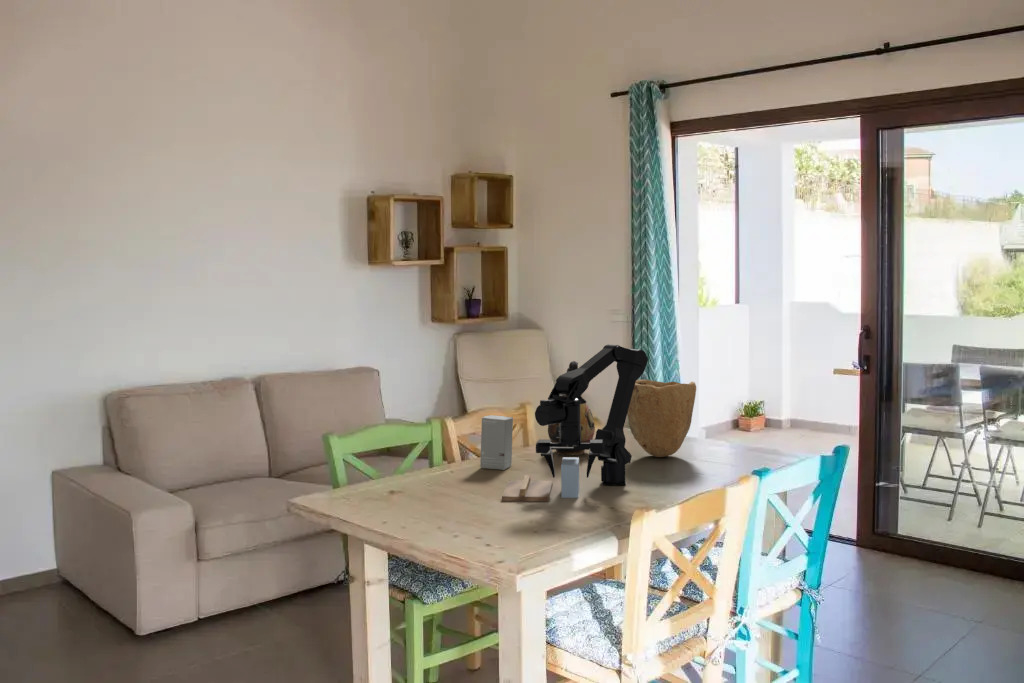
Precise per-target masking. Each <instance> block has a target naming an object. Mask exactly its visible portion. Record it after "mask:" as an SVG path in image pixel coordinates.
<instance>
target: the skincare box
mask: <svg viewBox="0 0 1024 683" xmlns="http://www.w3.org/2000/svg"><path fill="white" fill-rule="evenodd" d="M513 425H514V417H510V416H502V415H492V414H491V415H486V416H482V417H481V431H480V432H481V434H480V438H481V439H480V461H479V462H480V469H485V470H486V469H489V470H500V471H501V470H502V471H503V470H504V471H505V470H508V469H509V468H511V467H512V465H513V464H512V462H513V460H512V459H513V457H512V456H513V427H514V426H513Z"/></svg>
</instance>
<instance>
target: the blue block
mask: <svg viewBox="0 0 1024 683" xmlns="http://www.w3.org/2000/svg"><path fill="white" fill-rule="evenodd" d="M560 472H561V473H560V479H561V480H560V485H561V495H560V496H561V499H564V498H565V499H579V493H580V458H579V456H578V457H574V456H573V457H571V456H569V457H562V459H561V465H560Z"/></svg>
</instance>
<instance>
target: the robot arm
mask: <svg viewBox="0 0 1024 683" xmlns="http://www.w3.org/2000/svg"><path fill="white" fill-rule="evenodd" d="M648 361H649V357H648V356H647V353H646V351H644V350H643V349H635V348H626V347H624V346H621V345H619V344H609V343H608V344H606V345H604V346H603V348H602V349H601V350H599V351H598V352H597V353H596V354H594V355H593V356H592V357H591V358H590V359H588V360H587V361H585V362H584V363H583V364H582V365H580V366H578V369H576V370H572V371H569V372H567V371H566V372H564V373H563V374H561V375H559V376H558V377H557V378H556V380H555V383H554V386H553V387H552V390H551V392H550V394H549V396H548V397H547V399H541V400H539V405H537V407H536V409H535V412H534V417H535V421H536V422H537V424H538V425H539V426H541V427H544V426H545V427H546V426H548V425H552V424H557V423H560V426H556V438H560V443H552V442H551V439H550V438H549V439H541V438H539V439H538V440H537V441H536V442H535V453H536V454H540V457H544V459H545V461H546V462H547V464H548V467H549V470H550V472H551V475H552V478H555V476H556V472H555V471H556V470H555V462H554V455H553V454H554V453H553V450H555V451H556V450H585V451H588V450H589V451H588V453H589V454H588V459H587V466H586V467H587V468H586V478H589V477H590V473H591V469H592V466H593V464H594V462H595V460H596V458H597V460H598V461H599V462H602V465H601V466H600V479H601V481H600V482H602V485H603V486H626V485H627V480H626V465H628V464H631V461H632V456H633V455H632V454H631V453H630V451H628V450H627V448H626V447H625V446H626V436H625V432H624V427H625V423H626V421H627V420H626V419H627V417H628V415H627V413H628V409H629V405H630V401H631V397H632V394H633V390H634V386H635V382H636V381H637V380H639V378H641V376H642V375H644V372H645V370H646V367H647V365H648ZM614 362H615V363H616V371H617V375H618V378H617V384H616V388H615V390H614V394H613V397H612V398H613V399H612V402H611V406H610V408H609V413H608V417H607V419H606V420H607V421H606V424H605V425H604V427H603V428H602V429H601V428H597V430H595V431H596V432H595V437H594V439H592V440H590V443H581V421H580V404H585V403H587V401H586V400H585V398H584V397H583V396H582V397H583V398H584V399H583V398H582V397H581V395H583V394H584V393H585V392H586V391H587V389H588V387H589V384H590V382H591V381H592V380H593V379H594V378H596V377H597V376H598V375H599V374H601V373H602V372H603V371H605V370H606V369H607V368H608V367H609V366H611V365H612V364H613V363H614ZM565 396H568V397H565ZM563 445H567V446H563ZM574 446H578V447H574Z"/></svg>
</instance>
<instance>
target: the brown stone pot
mask: <svg viewBox="0 0 1024 683" xmlns="http://www.w3.org/2000/svg"><path fill="white" fill-rule="evenodd" d="M696 394H697V385H696V382H695V381H690V382H689V383H682V382H681V383H680V382H678V381H668V382H663V381H657V380H652V379H637V381H636V382H635V386H634V390H633V394H632V397H631V401H630V405H629V409H628V413H627V420H628V427H629V429H630V432H631V434H632V436H633V438H634V440H635V441H636V442H637V443H638V445H639V446H640V447H641V448H642V449H643V451H644V452H646V453H648V455H651V456H652V457H655V458H664V457H668V456H672V455H674V454H675V453H677V452H678V451H679V450H680V449H681V446H682V444H683V443H684V440H685V439H686V437H687V434H688V433H689V432H690V428H691V424H692V420H693V418H692V417H693V413H694V412H693V411H694V407H695V406H694V405H695V402H696Z"/></svg>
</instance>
